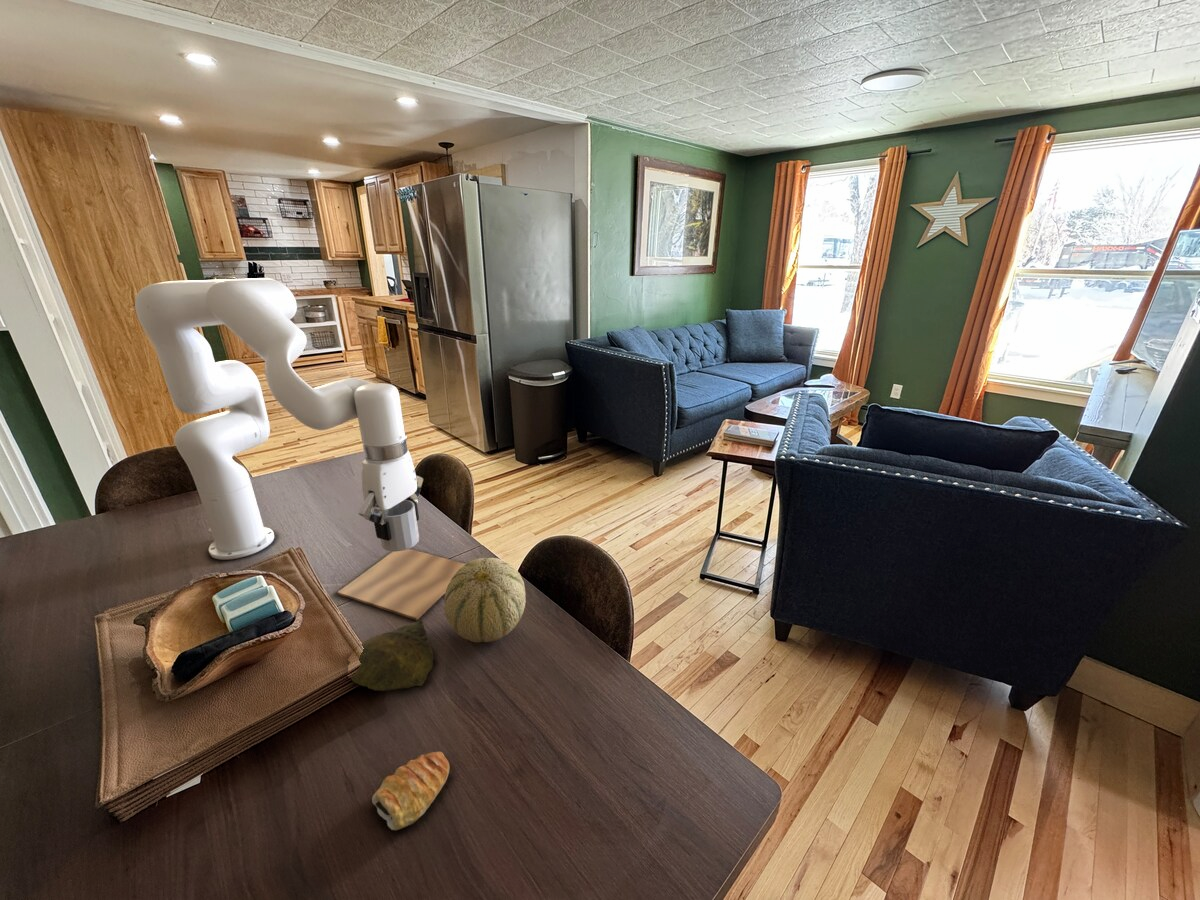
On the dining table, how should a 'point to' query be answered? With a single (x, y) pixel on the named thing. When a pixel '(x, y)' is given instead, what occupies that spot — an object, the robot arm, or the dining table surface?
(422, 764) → the pastry
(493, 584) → the cantaloupe
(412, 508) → the pot
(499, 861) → the dining table surface
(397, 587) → the board
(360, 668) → the pottery fragment
